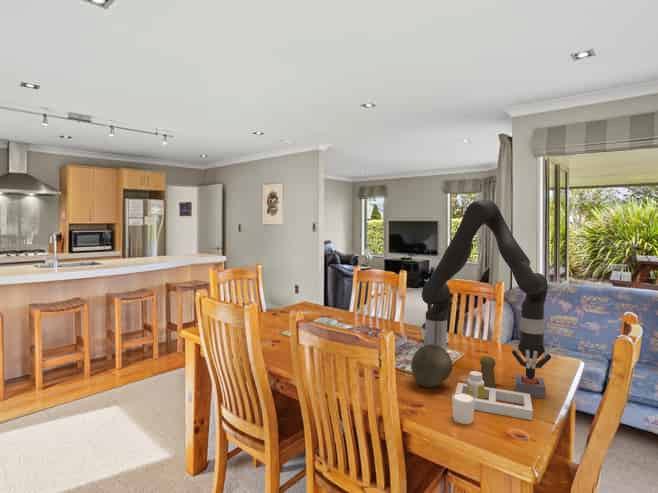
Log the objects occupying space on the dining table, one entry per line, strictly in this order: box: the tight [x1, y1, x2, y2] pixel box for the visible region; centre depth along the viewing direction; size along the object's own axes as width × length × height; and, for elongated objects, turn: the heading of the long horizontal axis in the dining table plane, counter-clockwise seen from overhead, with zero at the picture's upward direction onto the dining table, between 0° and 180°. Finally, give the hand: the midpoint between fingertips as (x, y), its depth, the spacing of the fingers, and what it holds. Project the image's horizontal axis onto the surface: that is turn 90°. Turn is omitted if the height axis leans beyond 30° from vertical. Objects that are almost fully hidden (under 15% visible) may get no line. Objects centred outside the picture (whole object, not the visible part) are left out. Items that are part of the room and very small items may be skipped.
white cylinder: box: [451, 393, 476, 425], centre depth 122 cm, size 7×7×7 cm
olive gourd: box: [479, 355, 497, 389], centre depth 145 cm, size 6×6×11 cm
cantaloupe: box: [410, 344, 453, 388], centre depth 146 cm, size 14×14×15 cm
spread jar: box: [420, 318, 450, 344], centre depth 196 cm, size 12×11×12 cm
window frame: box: [454, 382, 534, 421], centre depth 132 cm, size 23×12×3 cm, turn 67°
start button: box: [523, 374, 537, 384], centre depth 141 cm, size 4×4×3 cm
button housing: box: [514, 373, 547, 400], centre depth 142 cm, size 9×9×4 cm
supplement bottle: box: [466, 370, 485, 400], centre depth 134 cm, size 5×5×10 cm
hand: (530, 377), depth 141 cm, fingers closed
